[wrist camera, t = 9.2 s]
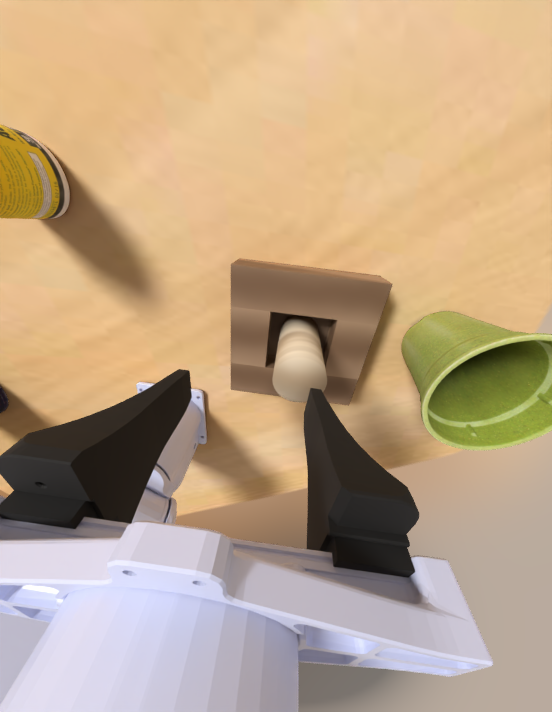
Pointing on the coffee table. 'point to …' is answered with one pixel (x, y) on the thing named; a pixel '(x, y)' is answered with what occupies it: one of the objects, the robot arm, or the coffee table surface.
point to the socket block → (307, 298)
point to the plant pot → (480, 381)
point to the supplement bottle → (30, 178)
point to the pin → (299, 359)
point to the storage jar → (3, 400)
